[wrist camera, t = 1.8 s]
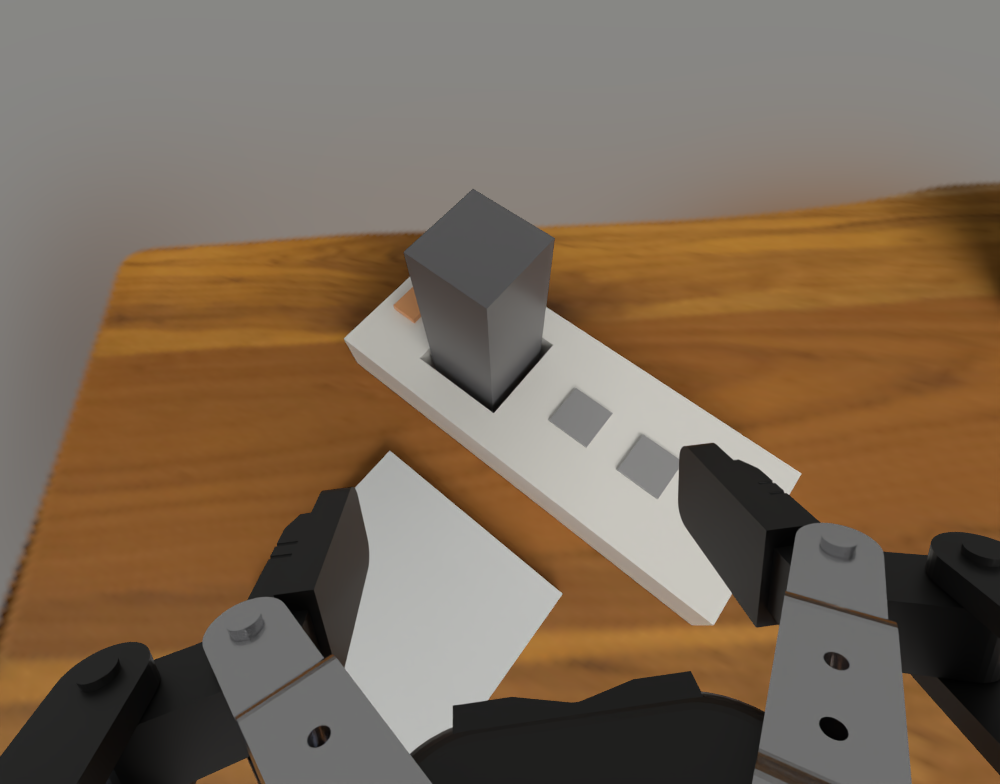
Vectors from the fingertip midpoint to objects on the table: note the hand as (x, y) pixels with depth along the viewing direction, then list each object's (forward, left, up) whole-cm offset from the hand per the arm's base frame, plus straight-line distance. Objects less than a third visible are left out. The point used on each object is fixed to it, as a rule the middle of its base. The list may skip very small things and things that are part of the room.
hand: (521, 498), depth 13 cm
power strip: (-8, -3, -16) cm, 18 cm away
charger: (-8, -8, -16) cm, 20 cm away
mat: (+5, -3, -16) cm, 17 cm away
